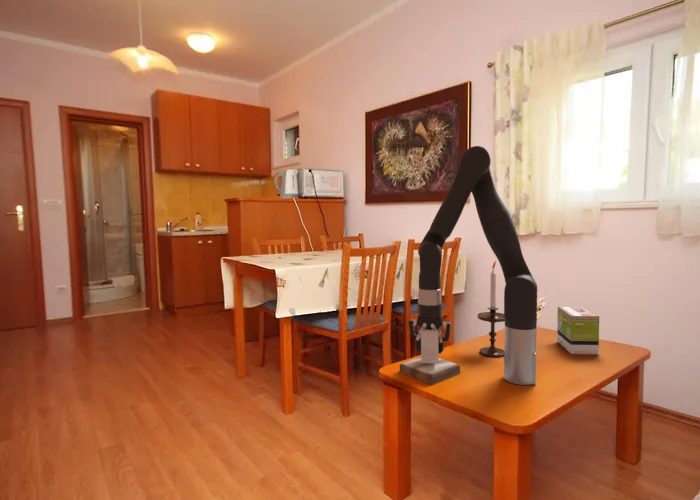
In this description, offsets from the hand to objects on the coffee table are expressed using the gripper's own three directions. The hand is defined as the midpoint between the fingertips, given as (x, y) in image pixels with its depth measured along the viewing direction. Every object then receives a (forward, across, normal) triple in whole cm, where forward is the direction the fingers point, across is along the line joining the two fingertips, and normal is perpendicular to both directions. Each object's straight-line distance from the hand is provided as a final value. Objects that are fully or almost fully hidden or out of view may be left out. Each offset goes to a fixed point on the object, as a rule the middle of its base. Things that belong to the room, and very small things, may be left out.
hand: (429, 351), depth 138 cm
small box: (+3, 0, 0) cm, 3 cm away
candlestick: (+7, -19, -26) cm, 33 cm away
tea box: (+7, -49, -42) cm, 65 cm away
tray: (+7, 0, 0) cm, 7 cm away
